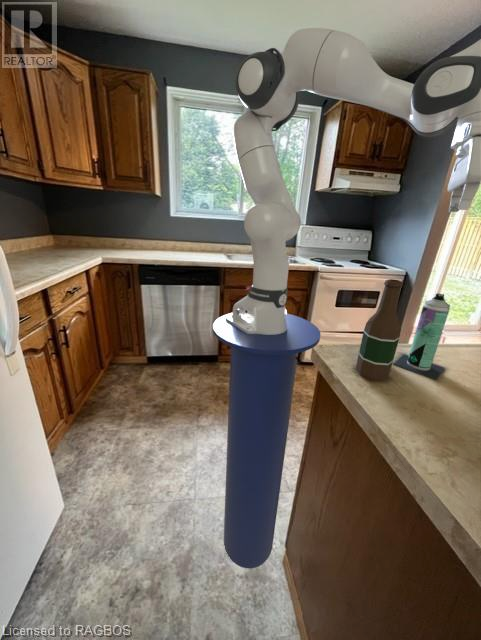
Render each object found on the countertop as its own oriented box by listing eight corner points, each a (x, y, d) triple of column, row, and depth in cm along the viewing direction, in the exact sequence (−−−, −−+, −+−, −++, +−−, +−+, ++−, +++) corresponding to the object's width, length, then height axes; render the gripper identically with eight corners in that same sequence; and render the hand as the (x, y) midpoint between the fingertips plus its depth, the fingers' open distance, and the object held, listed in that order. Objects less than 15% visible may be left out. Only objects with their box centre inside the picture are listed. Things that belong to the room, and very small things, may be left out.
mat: (393, 364, 74) (393, 363, 74) (403, 354, 80) (403, 354, 80) (436, 379, 67) (436, 379, 67) (444, 368, 73) (444, 367, 73)
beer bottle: (370, 383, 64) (395, 284, 56) (348, 367, 71) (367, 277, 63) (395, 379, 67) (423, 283, 59) (372, 364, 74) (393, 276, 65)
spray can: (422, 361, 76) (444, 292, 69) (434, 371, 71) (459, 297, 64) (402, 360, 76) (422, 290, 69) (413, 370, 71) (436, 296, 64)
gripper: (450, 149, 64) (433, 212, 68) (474, 120, 46) (449, 207, 51) (484, 147, 61) (464, 213, 66) (522, 116, 44) (491, 208, 48)
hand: (457, 211), depth 58 cm, fingers open, 8 cm apart
